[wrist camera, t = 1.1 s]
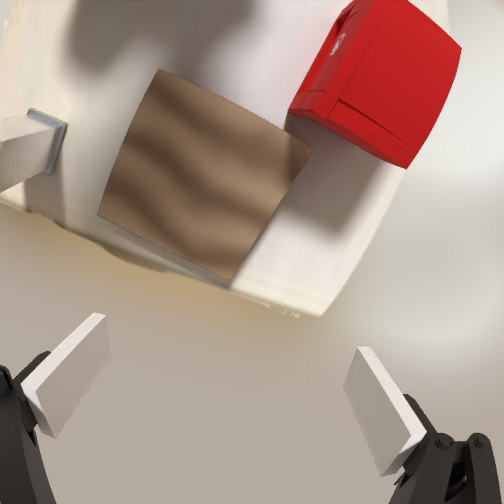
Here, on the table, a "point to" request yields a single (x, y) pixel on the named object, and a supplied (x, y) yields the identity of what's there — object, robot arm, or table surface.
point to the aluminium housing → (28, 146)
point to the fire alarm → (380, 78)
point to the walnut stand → (199, 174)
